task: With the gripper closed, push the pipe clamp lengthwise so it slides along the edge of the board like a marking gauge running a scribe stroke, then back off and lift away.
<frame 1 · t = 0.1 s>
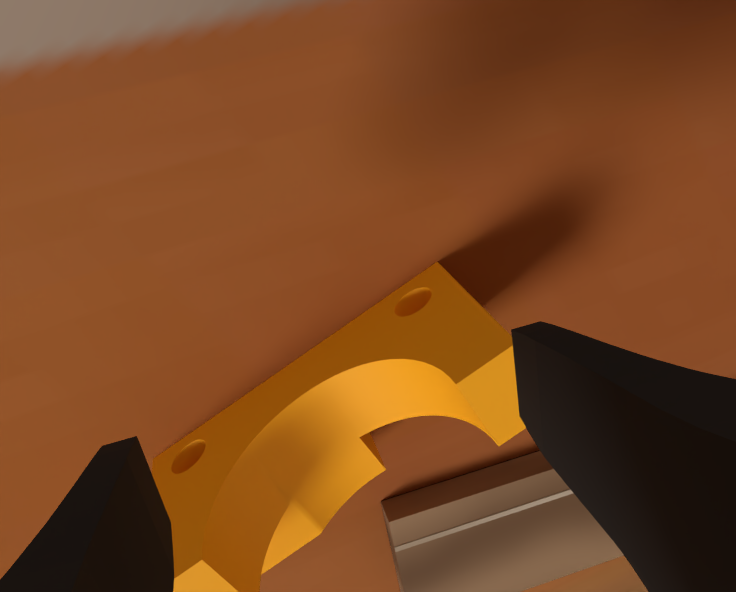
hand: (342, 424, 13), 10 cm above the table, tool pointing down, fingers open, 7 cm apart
pipe clamp: (326, 396, 25), on the table
board: (590, 490, 29), on the table
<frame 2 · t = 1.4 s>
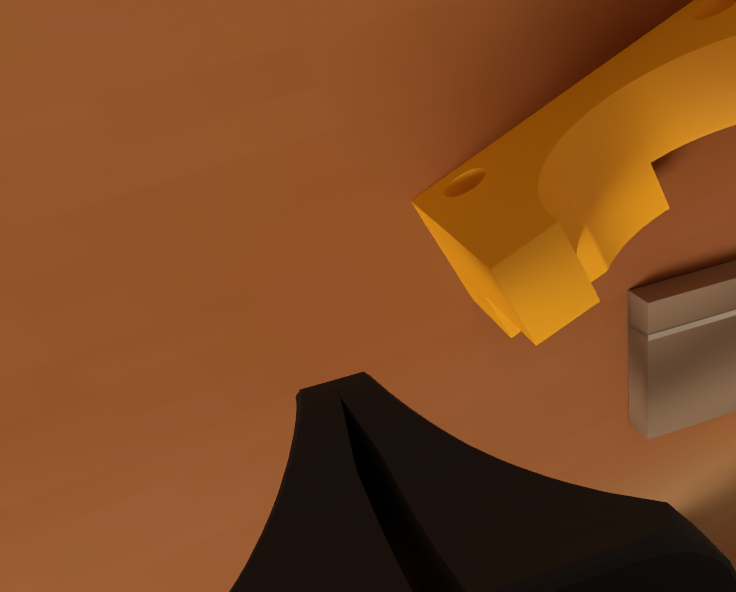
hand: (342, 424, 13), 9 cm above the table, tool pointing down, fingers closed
pipe clamp: (586, 144, 22), on the table
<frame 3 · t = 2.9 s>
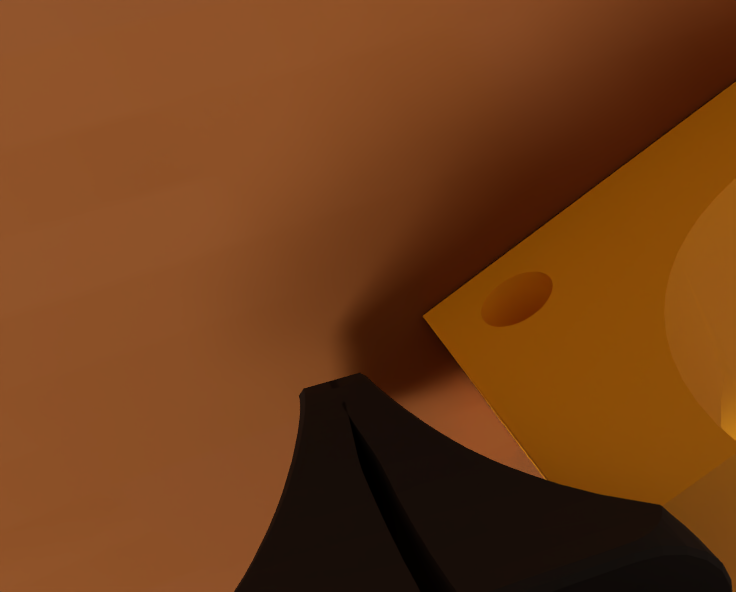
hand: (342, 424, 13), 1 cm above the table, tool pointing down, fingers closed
pipe clamp: (699, 212, 14), on the table, touching gripper
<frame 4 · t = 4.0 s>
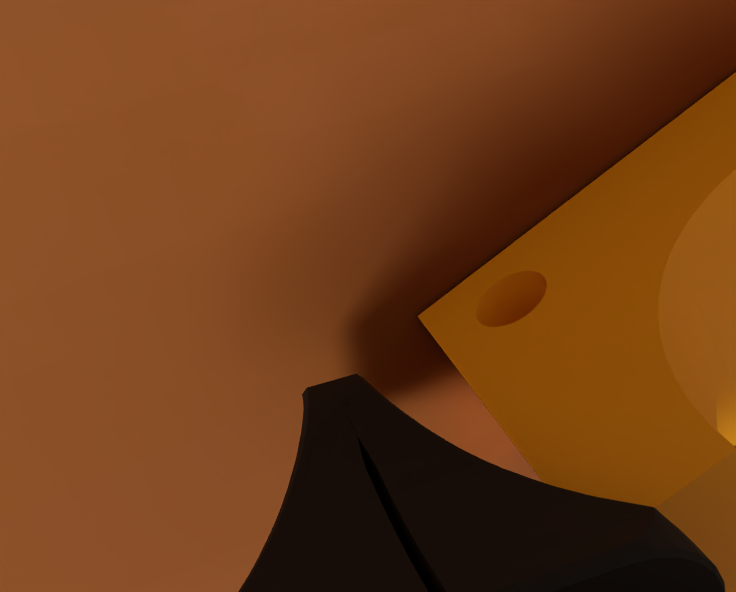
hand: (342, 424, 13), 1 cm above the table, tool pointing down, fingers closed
pipe clamp: (694, 209, 14), on the table, touching gripper
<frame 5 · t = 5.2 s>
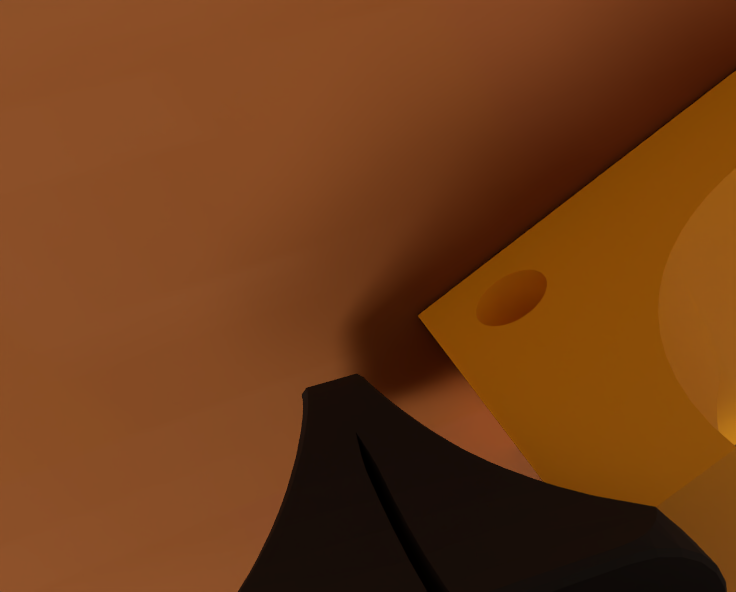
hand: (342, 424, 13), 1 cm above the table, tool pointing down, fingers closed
pipe clamp: (694, 207, 14), on the table, touching gripper
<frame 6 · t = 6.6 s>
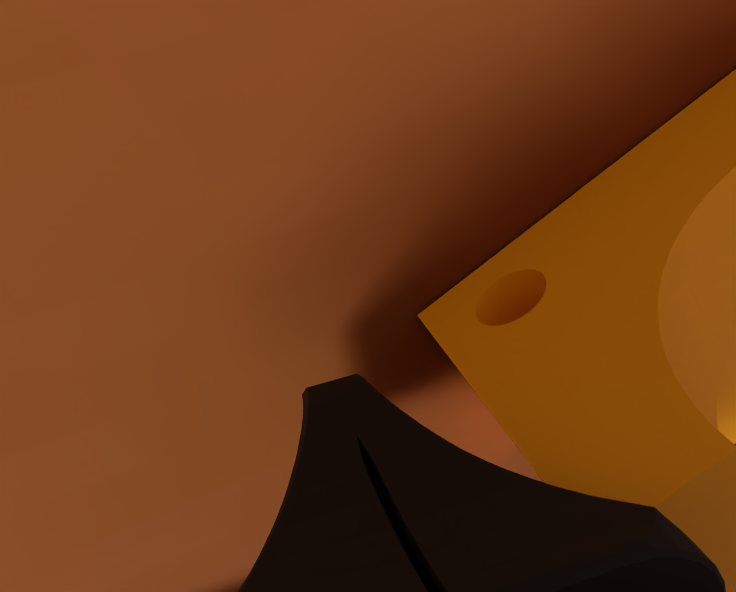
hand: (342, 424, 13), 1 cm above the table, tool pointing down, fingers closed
pipe clamp: (693, 206, 14), on the table, touching gripper
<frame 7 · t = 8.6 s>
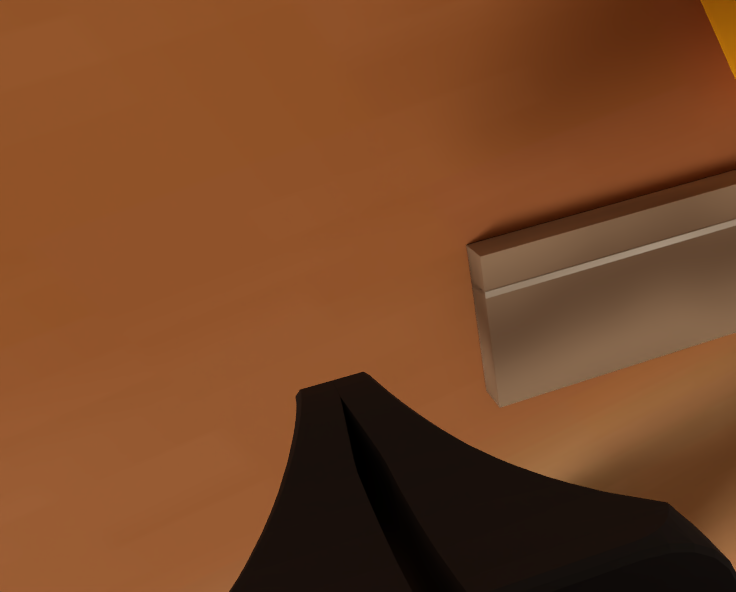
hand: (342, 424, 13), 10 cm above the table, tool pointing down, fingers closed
board: (699, 255, 25), on the table
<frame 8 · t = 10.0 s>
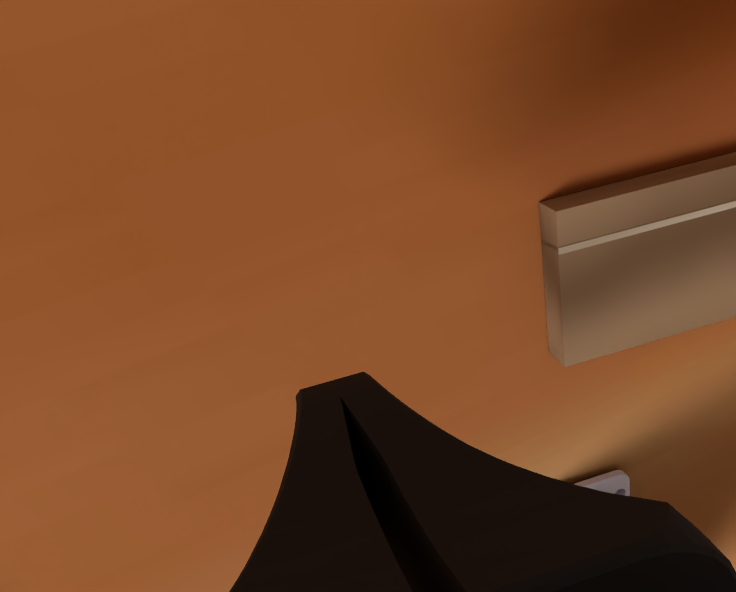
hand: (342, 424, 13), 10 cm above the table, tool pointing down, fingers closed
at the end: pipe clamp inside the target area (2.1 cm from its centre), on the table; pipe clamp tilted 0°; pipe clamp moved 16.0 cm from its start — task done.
